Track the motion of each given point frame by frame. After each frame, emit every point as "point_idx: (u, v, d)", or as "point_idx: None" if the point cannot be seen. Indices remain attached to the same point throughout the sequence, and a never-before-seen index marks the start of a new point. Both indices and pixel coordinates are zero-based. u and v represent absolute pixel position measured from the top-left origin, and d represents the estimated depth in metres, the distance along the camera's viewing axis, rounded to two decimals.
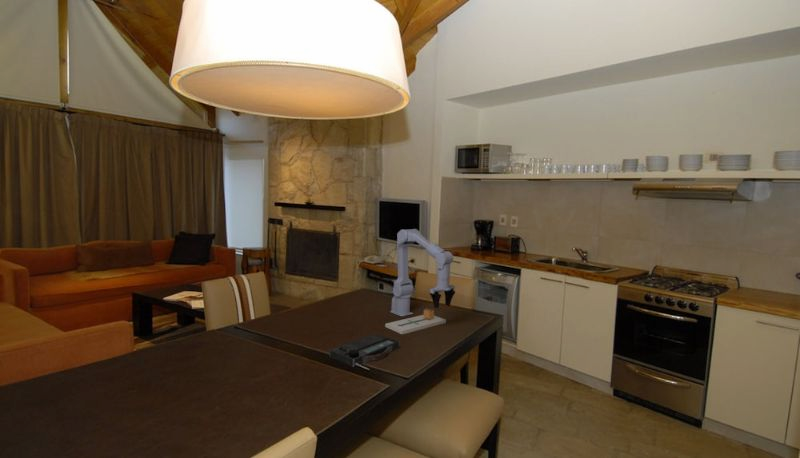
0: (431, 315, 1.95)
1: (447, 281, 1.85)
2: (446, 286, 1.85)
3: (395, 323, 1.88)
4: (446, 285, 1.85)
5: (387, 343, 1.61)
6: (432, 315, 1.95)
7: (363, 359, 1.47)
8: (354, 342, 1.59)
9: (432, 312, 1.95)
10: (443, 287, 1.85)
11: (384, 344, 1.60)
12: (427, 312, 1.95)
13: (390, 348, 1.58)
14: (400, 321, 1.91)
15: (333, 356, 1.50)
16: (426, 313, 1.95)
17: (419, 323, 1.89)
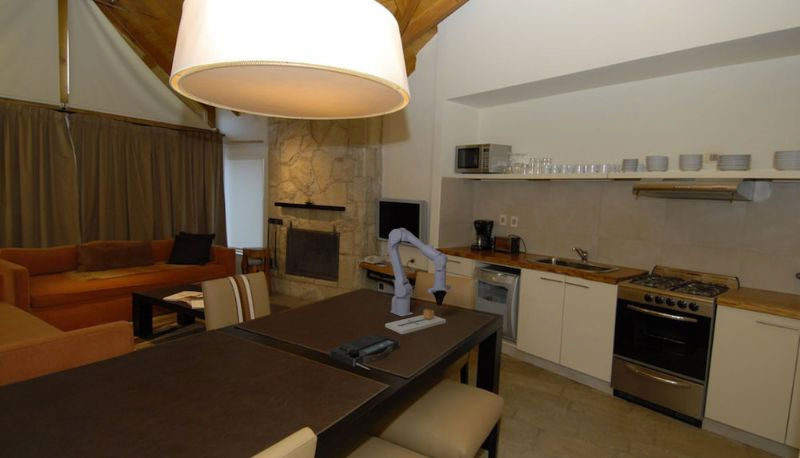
0: (431, 315, 1.95)
1: (444, 282, 1.97)
2: (443, 286, 1.97)
3: (395, 323, 1.88)
4: (443, 285, 1.97)
5: (387, 343, 1.62)
6: (432, 315, 1.95)
7: (363, 359, 1.47)
8: (354, 342, 1.60)
9: (432, 312, 1.95)
10: (440, 287, 1.97)
11: (384, 344, 1.60)
12: (427, 312, 1.95)
13: (390, 348, 1.58)
14: (400, 321, 1.91)
15: (333, 356, 1.50)
16: (426, 313, 1.95)
17: (419, 323, 1.89)
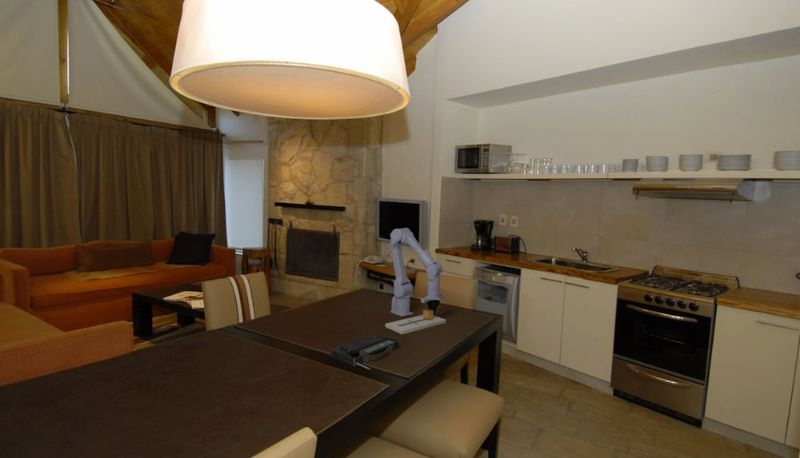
0: (431, 315, 1.95)
1: (437, 291, 1.95)
2: (436, 296, 1.95)
3: (395, 323, 1.88)
4: (436, 295, 1.95)
5: (387, 343, 1.62)
6: (432, 315, 1.95)
7: (364, 359, 1.47)
8: (355, 342, 1.60)
9: (432, 312, 1.95)
10: (433, 297, 1.94)
11: (384, 344, 1.61)
12: (427, 312, 1.94)
13: (390, 348, 1.58)
14: (400, 321, 1.91)
15: (334, 356, 1.50)
16: (426, 313, 1.95)
17: (419, 323, 1.89)
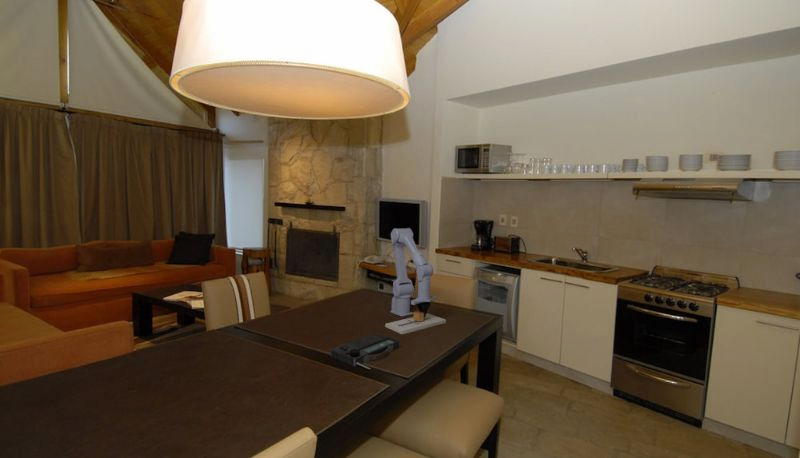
0: (421, 317, 1.90)
1: (428, 293, 1.91)
2: (426, 297, 1.91)
3: (395, 323, 1.88)
4: (426, 296, 1.91)
5: (388, 343, 1.62)
6: (422, 318, 1.91)
7: (364, 358, 1.47)
8: (355, 342, 1.60)
9: (422, 314, 1.91)
10: (424, 298, 1.90)
11: (385, 344, 1.61)
12: (417, 314, 1.90)
13: (391, 347, 1.58)
14: (400, 321, 1.91)
15: (334, 355, 1.51)
16: (416, 315, 1.91)
17: (419, 323, 1.89)
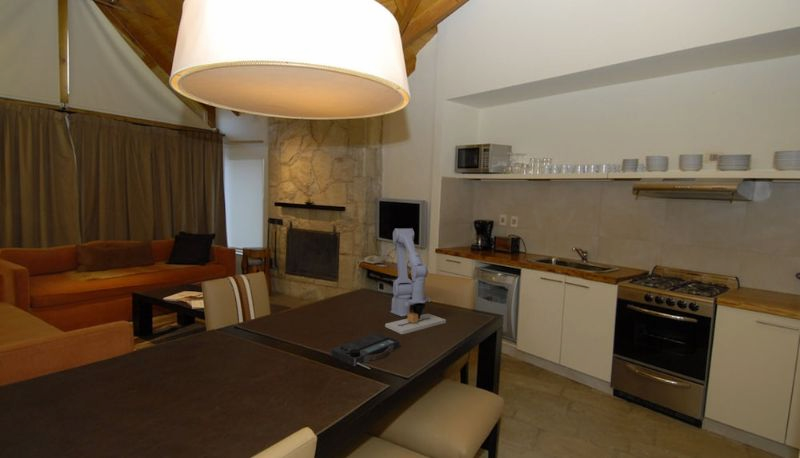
0: (415, 319, 1.88)
1: (422, 294, 1.88)
2: (421, 299, 1.88)
3: (395, 323, 1.88)
4: (421, 298, 1.88)
5: (388, 342, 1.62)
6: (416, 319, 1.89)
7: (364, 358, 1.47)
8: (355, 341, 1.60)
9: (416, 316, 1.88)
10: (418, 300, 1.88)
11: (385, 343, 1.61)
12: (411, 316, 1.88)
13: (391, 347, 1.58)
14: (400, 321, 1.91)
15: (334, 355, 1.51)
16: (410, 317, 1.88)
17: (419, 323, 1.89)
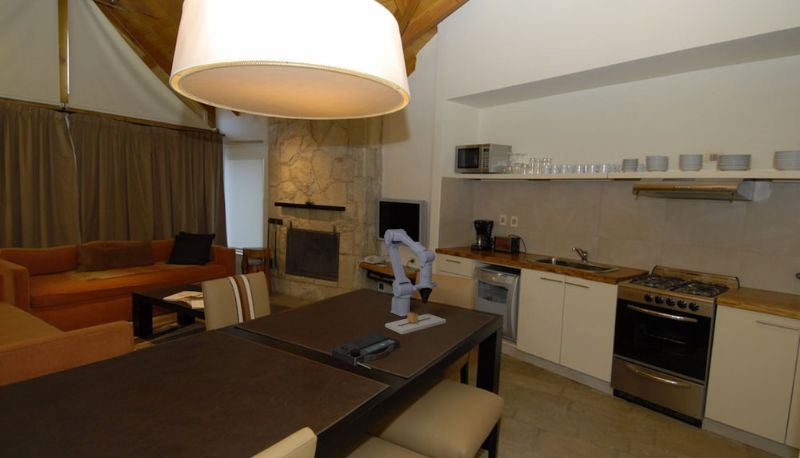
0: (415, 319, 1.88)
1: (429, 279, 1.92)
2: (428, 283, 1.92)
3: (395, 323, 1.88)
4: (428, 282, 1.92)
5: (388, 342, 1.62)
6: (416, 319, 1.89)
7: (365, 358, 1.48)
8: (355, 341, 1.60)
9: (416, 316, 1.88)
10: (425, 284, 1.92)
11: (385, 343, 1.61)
12: (411, 316, 1.88)
13: (391, 347, 1.59)
14: (400, 321, 1.91)
15: (335, 355, 1.51)
16: (410, 317, 1.88)
17: (419, 323, 1.89)
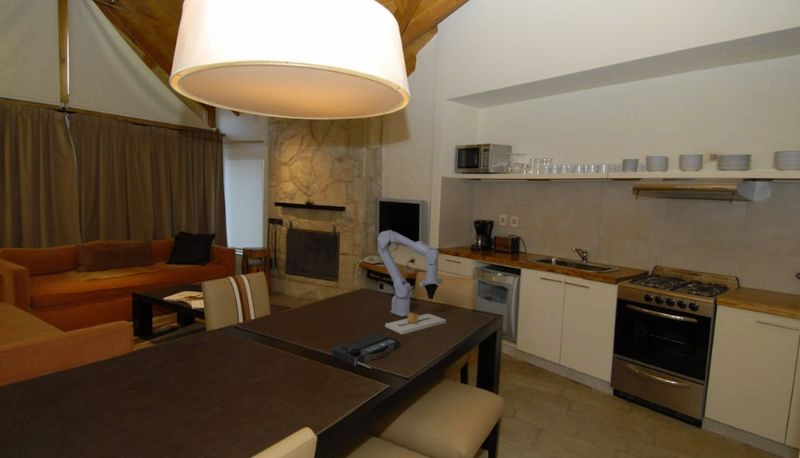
0: (415, 319, 1.88)
1: (435, 275, 2.00)
2: (434, 280, 2.00)
3: (395, 323, 1.88)
4: (434, 279, 2.00)
5: (389, 342, 1.62)
6: (416, 319, 1.89)
7: (365, 358, 1.48)
8: (356, 341, 1.61)
9: (416, 316, 1.88)
10: (431, 280, 2.00)
11: (386, 343, 1.61)
12: (411, 316, 1.88)
13: (392, 347, 1.59)
14: (400, 321, 1.91)
15: (335, 355, 1.51)
16: (410, 317, 1.88)
17: (419, 323, 1.89)
